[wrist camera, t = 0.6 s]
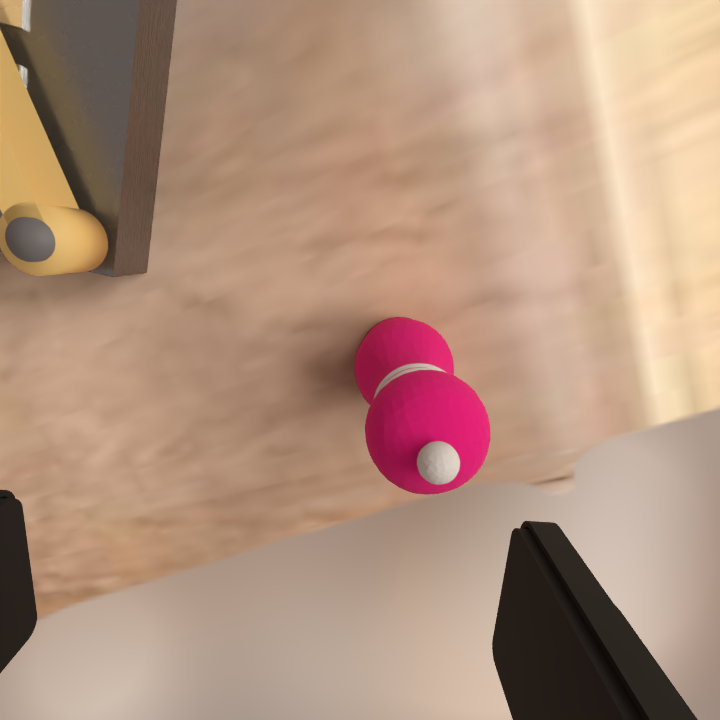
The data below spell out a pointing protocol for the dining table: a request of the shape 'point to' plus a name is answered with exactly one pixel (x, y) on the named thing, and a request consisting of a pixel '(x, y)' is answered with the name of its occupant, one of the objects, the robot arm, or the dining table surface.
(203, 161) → the dining table surface
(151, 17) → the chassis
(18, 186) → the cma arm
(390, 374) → the pepper mill
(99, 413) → the dining table surface
